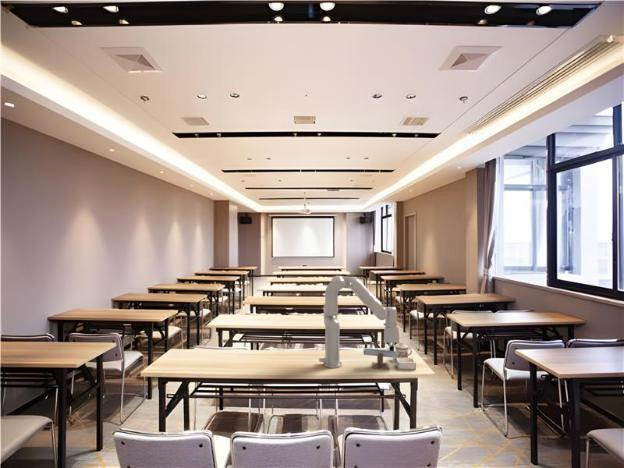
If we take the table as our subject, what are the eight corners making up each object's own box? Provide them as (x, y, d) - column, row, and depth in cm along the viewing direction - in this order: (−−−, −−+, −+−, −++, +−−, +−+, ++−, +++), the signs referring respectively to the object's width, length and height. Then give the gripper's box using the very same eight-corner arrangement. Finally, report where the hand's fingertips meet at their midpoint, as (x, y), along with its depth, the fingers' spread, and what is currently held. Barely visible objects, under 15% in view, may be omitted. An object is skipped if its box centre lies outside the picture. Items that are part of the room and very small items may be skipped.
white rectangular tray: (398, 369, 238) (398, 362, 238) (396, 364, 247) (396, 357, 247) (415, 369, 237) (415, 362, 237) (413, 364, 246) (413, 358, 246)
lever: (363, 354, 242) (364, 350, 242) (362, 348, 255) (363, 344, 255) (397, 358, 240) (397, 353, 240) (394, 352, 253) (395, 348, 253)
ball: (412, 367, 240) (407, 366, 241) (411, 365, 243) (406, 365, 244) (412, 362, 240) (407, 362, 241) (411, 360, 243) (407, 360, 244)
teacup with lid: (397, 361, 253) (397, 344, 253) (393, 357, 262) (393, 341, 262) (414, 360, 254) (414, 344, 254) (409, 356, 263) (409, 340, 263)
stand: (373, 369, 239) (373, 354, 239) (372, 363, 250) (371, 349, 250) (388, 369, 238) (388, 354, 238) (386, 363, 249) (386, 349, 249)
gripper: (380, 326, 246) (381, 353, 246) (403, 326, 245) (403, 353, 245) (379, 323, 254) (380, 350, 254) (401, 323, 252) (402, 350, 252)
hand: (391, 351), depth 249 cm, fingers closed
